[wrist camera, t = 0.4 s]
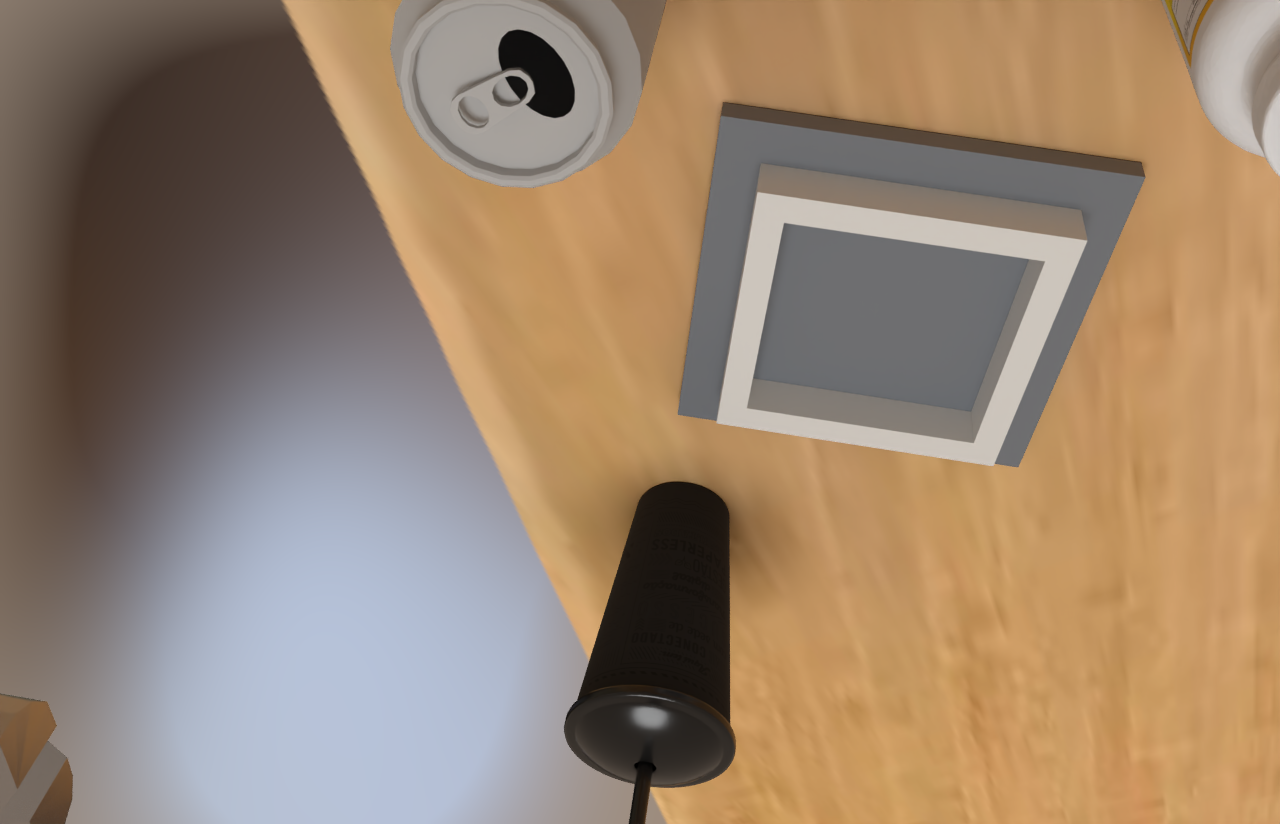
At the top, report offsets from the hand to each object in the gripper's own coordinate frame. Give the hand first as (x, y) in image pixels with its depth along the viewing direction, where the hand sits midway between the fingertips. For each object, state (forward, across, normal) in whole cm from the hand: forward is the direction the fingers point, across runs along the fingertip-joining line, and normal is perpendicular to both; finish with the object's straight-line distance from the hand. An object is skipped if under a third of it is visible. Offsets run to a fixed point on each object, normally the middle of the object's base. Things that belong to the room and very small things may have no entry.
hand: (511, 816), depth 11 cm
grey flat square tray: (+40, -8, +18) cm, 44 cm away
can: (+38, +6, +4) cm, 39 cm away
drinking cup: (+42, -1, +34) cm, 54 cm away
